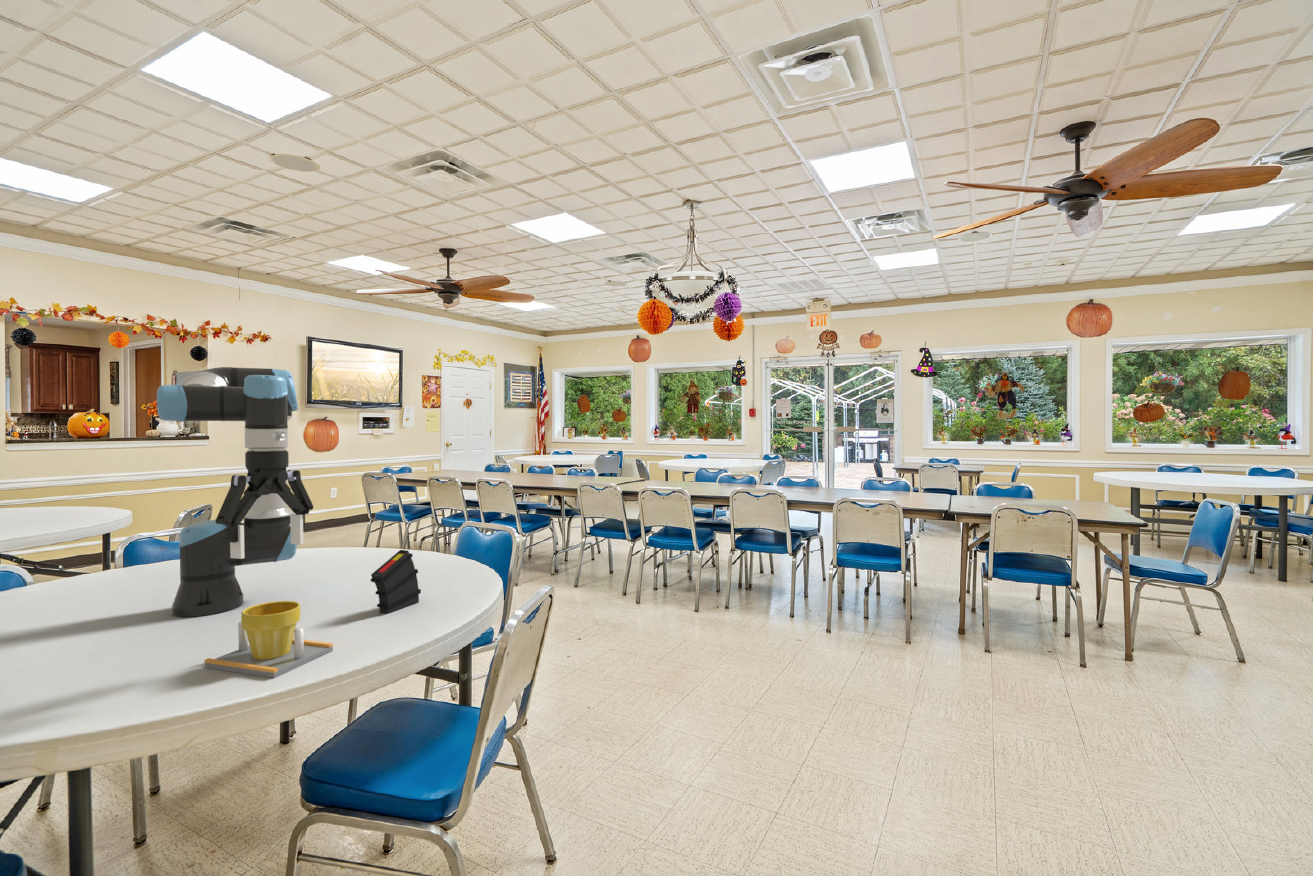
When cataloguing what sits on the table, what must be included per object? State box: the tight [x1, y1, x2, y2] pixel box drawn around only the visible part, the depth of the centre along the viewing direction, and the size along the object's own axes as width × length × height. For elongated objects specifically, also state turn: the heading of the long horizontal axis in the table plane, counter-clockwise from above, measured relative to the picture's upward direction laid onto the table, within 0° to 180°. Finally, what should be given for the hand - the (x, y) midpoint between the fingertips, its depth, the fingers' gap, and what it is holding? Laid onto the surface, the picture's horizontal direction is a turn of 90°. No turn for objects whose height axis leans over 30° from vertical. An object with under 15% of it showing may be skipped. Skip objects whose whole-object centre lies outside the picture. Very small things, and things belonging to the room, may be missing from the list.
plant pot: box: [240, 600, 301, 660], centre depth 121 cm, size 10×10×10 cm
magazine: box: [370, 549, 422, 614], centre depth 155 cm, size 4×13×15 cm, turn 157°
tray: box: [203, 621, 334, 679], centre depth 121 cm, size 18×14×7 cm
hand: (268, 550), depth 121 cm, fingers open, 13 cm apart
